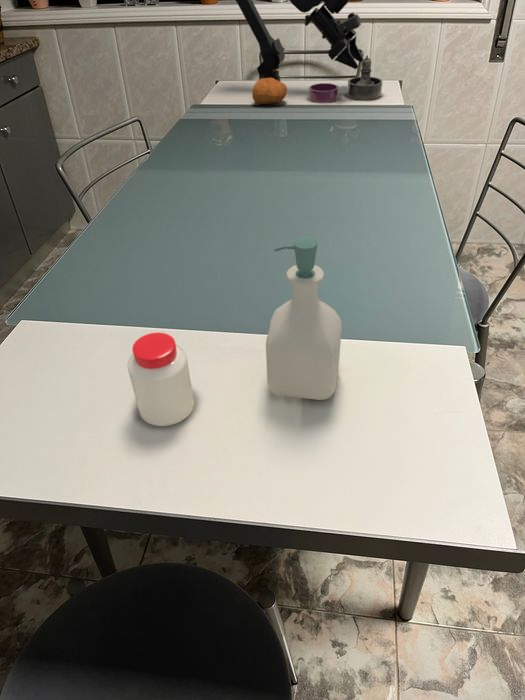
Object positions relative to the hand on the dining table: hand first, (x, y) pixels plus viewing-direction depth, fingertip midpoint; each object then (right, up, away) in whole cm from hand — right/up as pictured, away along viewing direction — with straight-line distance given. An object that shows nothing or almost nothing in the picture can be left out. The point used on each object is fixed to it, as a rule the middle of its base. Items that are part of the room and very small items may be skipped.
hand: (359, 64), depth 180 cm
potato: (-29, -11, +3) cm, 31 cm away
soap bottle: (-26, -98, -100) cm, 142 cm away
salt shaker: (+2, -7, +5) cm, 10 cm away
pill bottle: (-45, -101, -103) cm, 151 cm away
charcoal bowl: (+2, -8, +6) cm, 10 cm away
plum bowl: (-11, -9, +5) cm, 15 cm away
